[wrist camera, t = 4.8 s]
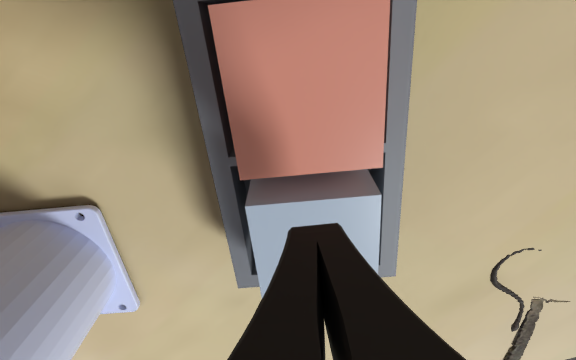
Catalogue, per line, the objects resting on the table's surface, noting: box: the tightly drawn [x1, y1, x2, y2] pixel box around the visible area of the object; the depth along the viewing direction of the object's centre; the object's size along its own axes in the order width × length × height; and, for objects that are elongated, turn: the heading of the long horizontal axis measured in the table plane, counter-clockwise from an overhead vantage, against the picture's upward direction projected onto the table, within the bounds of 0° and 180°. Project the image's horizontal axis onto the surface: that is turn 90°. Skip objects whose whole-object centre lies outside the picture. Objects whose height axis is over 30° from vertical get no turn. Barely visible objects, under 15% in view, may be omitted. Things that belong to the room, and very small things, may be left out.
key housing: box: [173, 0, 417, 288], centre depth 13 cm, size 8×20×3 cm, turn 6°
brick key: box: [208, 0, 390, 180], centre depth 10 cm, size 5×5×3 cm
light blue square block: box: [245, 169, 382, 298], centre depth 13 cm, size 5×5×3 cm
